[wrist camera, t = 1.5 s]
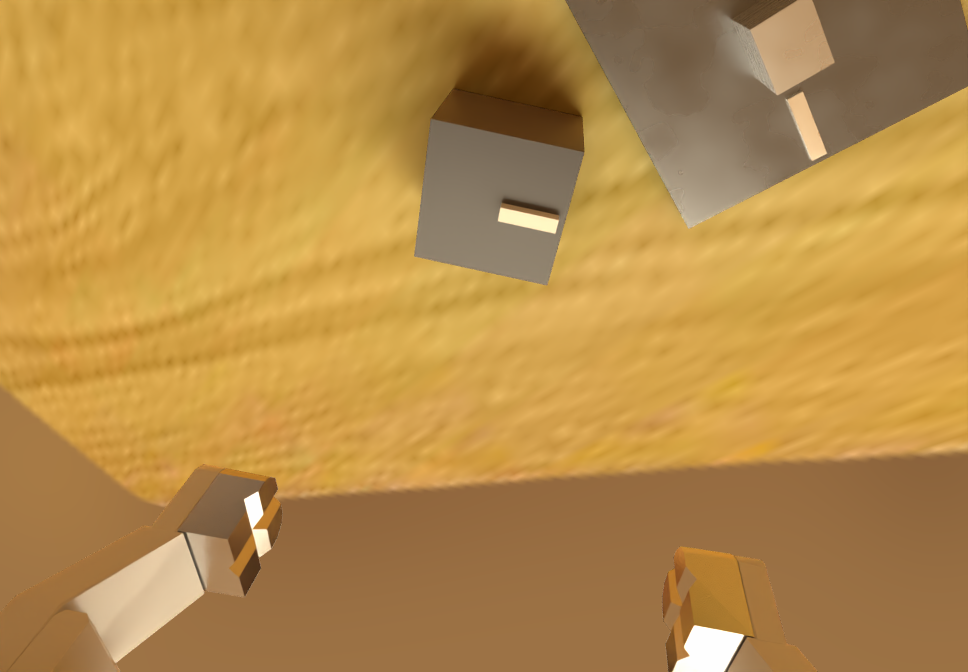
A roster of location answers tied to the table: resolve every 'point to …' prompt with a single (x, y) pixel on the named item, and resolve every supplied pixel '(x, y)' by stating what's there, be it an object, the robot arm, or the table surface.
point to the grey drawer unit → (498, 185)
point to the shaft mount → (768, 82)
